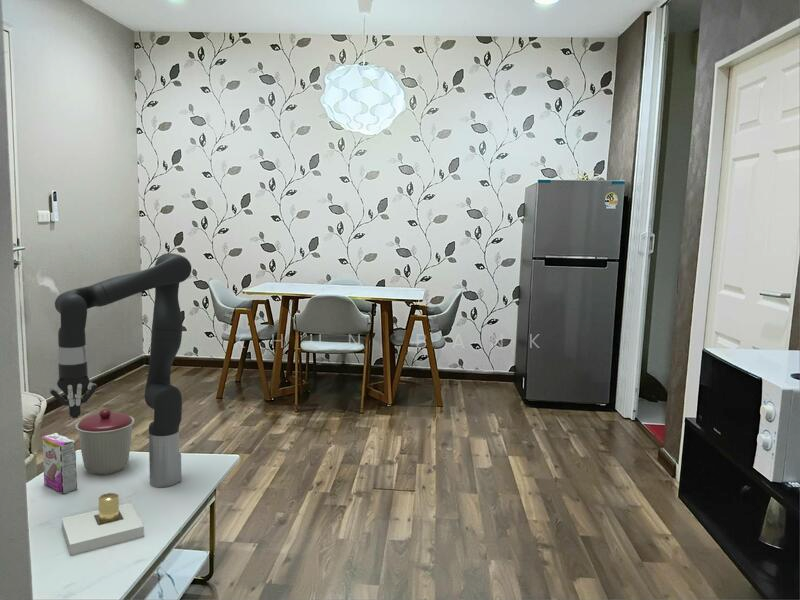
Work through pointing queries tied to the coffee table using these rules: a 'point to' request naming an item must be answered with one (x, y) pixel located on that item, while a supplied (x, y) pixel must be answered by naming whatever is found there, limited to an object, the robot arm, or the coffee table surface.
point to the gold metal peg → (108, 508)
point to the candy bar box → (59, 463)
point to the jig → (100, 530)
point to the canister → (105, 441)
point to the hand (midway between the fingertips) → (74, 417)
